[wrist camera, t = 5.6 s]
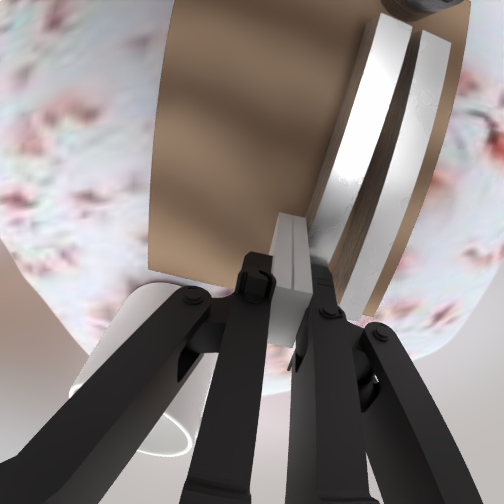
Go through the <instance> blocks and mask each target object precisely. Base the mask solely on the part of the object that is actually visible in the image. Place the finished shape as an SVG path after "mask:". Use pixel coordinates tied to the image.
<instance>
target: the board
mask: <svg viewBox="0 0 504 504" xmlns="http://www.w3.org/2000/svg"><path fill="white" fill-rule="evenodd" d="M470 6H471V1H469V0H464V1H463V2H461V3H460V4H458V5H455V6H453V7H450V8H447V9H445V10H442V11H440V12H437V13H435V14H432V15H430V16H427V17H425V18H423V19H420V20H418V21H414V22H406V21H402V20H400V19H397V18H396V17H394V16H392V15H391V14H390V13H389V12H388V11H387V10H386V9H385V8H384V6H383V5H382V3H381V0H175V1H174V6H173V11H172V15H171V20H170V26H169V31H168V37H167V42H166V48H165V54H164V60H163V67H162V74H161V81H160V88H159V96H158V104H157V112H156V122H155V131H154V142H153V154H152V167H151V183H150V202H149V232H148V269H149V270H153V271H157V272H161V273H165V274H169V275H174V276H178V277H182V278H186V279H191V280H195V281H199V282H204V283H208V284H213V285H217V286H221V287H226V288H230V289H235V287H236V282H237V277H238V273H239V272H240V270H241V268H242V264H243V260H244V257H245V255H246V254H248V253H249V252H250V251H253V252H257V253H262V254H266V255H269V251H270V247H271V243H272V239H273V235H274V231H275V227H276V223H277V219H278V215H279V212H281V213H286V214H290V215H295V216H299V217H303V218H304V217H305V214H306V211H307V208H308V206H309V203H310V200H311V197H312V194H313V191H314V188H315V185H316V182H317V179H318V177H319V174H320V171H321V168H322V165H323V162H324V159H325V156H326V153H327V150H328V147H329V144H330V141H331V137H332V134H333V131H334V128H335V125H336V122H337V119H338V116H339V113H340V109H341V106H342V103H343V100H344V97H345V94H346V90H347V87H348V84H349V81H350V77H351V74H352V71H353V67H354V64H355V61H356V57H357V54H358V51H359V47H360V44H361V40H362V37H363V33H364V30H365V26H366V24H367V23H368V22H369V21H371V20H372V19H373V18H375V17H376V16H377V15H379V14H380V13H383V14H385V15H388V16H390V17H392V18H395V19H397V20H399V21H402V22H404V23H406V24H408V25H410V26H412V31H411V34H412V33H415V32H418V31H421V30H424V31H426V32H429V33H431V34H433V35H435V36H438V37H440V38H442V39H444V40H446V41H448V42H450V43H451V48H450V54H449V59H448V64H447V69H446V74H445V79H444V83H443V88H442V92H441V96H440V100H439V104H438V108H437V112H436V116H435V120H434V124H433V127H432V131H431V135H430V138H429V142H428V145H427V148H426V152H425V155H424V158H423V162H422V165H421V168H420V171H419V174H418V177H417V180H416V183H415V186H414V189H413V192H412V195H411V198H410V200H409V203H408V206H407V209H406V212H405V214H404V217H403V220H402V222H401V225H400V227H399V230H398V233H397V235H396V238H395V240H394V243H393V245H392V248H391V250H390V253H389V255H388V257H387V260H386V262H385V264H384V267H383V269H382V271H381V274H380V276H379V278H378V281H377V283H376V285H375V287H374V289H373V292H372V294H371V296H370V298H369V300H368V302H367V305H366V307H365V309H364V311H363V313H362V315H366V316H371V317H373V316H374V314H375V312H376V310H377V308H378V306H379V304H380V302H381V300H382V298H383V296H384V294H385V292H386V290H387V288H388V285H389V283H390V281H391V279H392V277H393V275H394V272H395V270H396V268H397V266H398V263H399V261H400V259H401V257H402V254H403V252H404V250H405V247H406V245H407V242H408V240H409V238H410V235H411V233H412V230H413V228H414V225H415V223H416V220H417V217H418V215H419V212H420V209H421V207H422V204H423V201H424V199H425V196H426V193H427V190H428V187H429V184H430V182H431V179H432V176H433V173H434V170H435V166H436V163H437V160H438V157H439V154H440V150H441V147H442V144H443V140H444V137H445V133H446V130H447V126H448V122H449V119H450V115H451V111H452V107H453V103H454V99H455V94H456V90H457V86H458V81H459V76H460V71H461V66H462V61H463V55H464V50H465V44H466V37H467V30H468V23H469V15H470ZM369 164H370V163H369ZM368 167H369V166H368ZM367 171H368V168H367ZM367 171H366V174H367ZM366 174H365V176H364V179H363V182H362V184H361V187H360V189H359V192H358V195H357V197H356V200H355V202H354V205H353V207H352V210H351V212H350V215H349V217H348V220H347V222H346V225H345V227H344V230H343V232H342V234H341V237H340V239H339V242H338V244H337V246H336V249H335V251H334V253H333V256H332V258H331V260H330V263H329V265H328V267H329V271H330V272H331V274H332V276H333V273H334V271H335V268H336V265H337V262H338V260H339V257H340V254H341V251H342V248H343V245H344V243H345V240H346V237H347V234H348V231H349V228H350V225H351V222H352V219H353V216H354V213H355V210H356V206H357V203H358V200H359V197H360V194H361V191H362V187H363V184H364V181H365V177H366Z"/></svg>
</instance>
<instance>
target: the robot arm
mask: <svg viewBox="0 0 504 504" xmlns="http://www.w3.org/2000/svg"><path fill="white" fill-rule="evenodd" d="M295 340H296V349H295V351H294V354H293V356H292V358H291V361H290V363H289V366H288V369H287V371H290V369H291V367H292V380H291V408H290V430H289V449H288V450H289V452H288V467H287V483H286V497H285V504H380V503H379V501H378V500H376V499H374V498H372V497H371V496H370V493H369V484H368V472H367V461H366V453H367V456H368V459H369V462H370V464H371V467H372V470H373V473H374V476H375V479H376V481H377V484H378V487H379V490H380V493H381V496H382V499H383V502H384V504H483V502H482V500H481V497H480V495H479V493H478V490H477V488H476V486H475V483H474V481H473V479H472V477H471V475H470V472H469V470H468V468H467V466H466V464H465V461H464V459H463V457H462V455H461V453H460V451H459V449H458V447H457V445H456V443H455V441H454V439H453V437H452V435H451V433H450V431H449V429H448V427H447V425H446V423H445V421H444V419H443V417H442V415H441V413H440V411H439V409H438V408H437V406H436V404H435V402H434V400H433V398H432V396H431V395H430V393H429V391H428V389H427V387H426V385H425V384H424V382H423V380H422V378H421V377H420V375H419V373H418V371H417V369H416V368H415V366H414V364H413V362H412V361H411V359H410V357H409V355H408V354H407V352H406V350H405V349H404V347H403V345H402V343H401V342H400V340H399V338H398V337H397V335H396V333H395V332H394V331H393V330H392V329H391V328H390V327H388V326H387V325H385V324H383V323H380V322H371V323H368V324H367V325H366V326H365V328H361V327H359V326H356V325H354V324H352V323H350V322H348V321H347V319H346V315H345V312H344V311H343V310H342V309H341V308H340V307H339V306H337V300H336V294H335V289H334V283H333V278H332V274H331V272H330V271H329V270H328V268H327V267H325V266H321V265H316V264H311V263H310V254H309V244H308V234H307V225H306V218H303V217H299V216H295V215H290V214H286V213H281V212H279V215H278V219H277V223H276V227H275V231H274V235H273V239H272V243H271V247H270V251H269V255H266V254H262V253H257V252H253V251H250V252H249V253H248V254H246V255H245V257H244V260H243V264H242V268H241V270H240V272H239V273H238V277H237V282H236V287H235V292H234V293H233V294H231V295H229V296H227V297H223V298H212V297H211V295H210V293H209V292H208V291H207V290H205V289H203V288H201V287H197V286H184V287H180V288H179V289H177V290H176V291H175V292H174V293H173V294H172V295H171V296H170V297H169V298H168V299H167V300H166V301H165V302H164V303H163V304H162V305H161V306H160V307H159V308H158V309H157V310H156V311H155V312H154V313H153V314H152V315H151V316H150V317H149V318H148V319H147V320H146V321H145V322H144V323H143V324H142V325H141V326H140V327H139V328H138V329H137V330H136V331H135V332H134V333H133V334H132V335H131V336H130V337H129V338H128V339H127V340H126V341H125V342H124V343H123V344H122V345H121V346H120V347H119V348H118V349H117V350H116V351H115V352H114V353H113V354H112V355H111V356H110V357H109V358H108V359H107V360H106V361H105V362H104V363H103V364H102V365H101V366H100V367H99V368H98V369H97V370H96V372H95V373H94V374H93V375H92V376H91V377H90V378H89V379H88V380H87V381H86V382H85V383H84V384H83V385H82V386H81V387H80V388H79V389H78V390H77V391H76V392H75V393H74V394H73V395H72V397H71V398H70V399H69V400H68V401H67V402H66V403H65V404H64V405H63V406H62V407H61V408H60V409H59V410H58V411H57V413H56V414H55V415H54V416H53V417H52V418H51V419H50V420H49V421H48V422H47V423H46V424H45V425H44V426H43V427H42V428H41V430H40V431H39V432H38V433H37V434H36V435H35V436H34V437H33V438H32V439H31V440H30V441H29V443H28V444H27V445H26V446H25V447H24V448H23V449H22V450H21V451H20V452H19V453H18V455H17V456H15V457H13V458H11V459H8V460H6V461H4V462H2V463H0V504H98V503H99V502H100V500H101V499H102V498H103V496H104V495H105V493H106V492H107V491H108V489H109V488H110V487H111V485H112V484H113V483H114V481H115V480H116V479H117V477H118V476H119V474H120V473H121V471H122V470H123V469H124V467H125V466H126V465H127V463H128V462H129V461H130V459H131V458H132V457H133V455H134V454H135V452H136V451H137V450H138V448H139V447H140V445H141V444H142V443H143V441H144V440H145V439H146V437H147V436H148V434H149V433H150V432H151V430H152V429H153V427H154V426H155V425H156V423H157V422H158V420H159V419H160V418H161V416H162V415H163V413H164V412H165V410H166V409H167V408H168V406H169V405H170V403H171V402H172V401H173V399H174V398H175V396H176V395H177V393H178V392H179V391H180V389H181V388H182V386H183V385H184V384H185V382H186V381H187V379H188V378H189V376H190V375H191V374H192V372H193V371H194V369H195V368H196V366H197V365H198V363H199V362H200V361H201V359H202V358H203V356H204V353H219V354H218V358H217V362H216V366H215V369H214V373H213V377H212V381H211V385H210V389H209V393H208V397H207V401H206V405H205V408H204V412H203V417H202V420H201V424H200V428H199V432H198V436H197V440H196V444H195V448H194V452H193V456H192V460H191V464H190V468H189V472H188V475H187V479H186V481H185V483H184V487H183V490H182V494H181V498H180V502H179V504H251V494H250V480H251V472H252V465H253V457H254V449H255V442H256V434H257V426H258V418H259V410H260V401H261V393H262V384H263V375H264V366H265V357H266V348H267V343H268V344H273V345H278V346H283V347H289V348H293V345H294V342H295ZM375 375H376V376H377V379H378V381H379V382H377V380H376V379H375Z"/></svg>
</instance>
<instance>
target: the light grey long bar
mask: <svg viewBox="0 0 504 504" xmlns="http://www.w3.org/2000/svg"><path fill="white" fill-rule="evenodd" d="M411 31H412V26H410V25H408V24H406V23H404V22H402V21H399V20H397V19H395V18H392V17H390V16H388V15H385V14H383V13H380V14H379V15H377V16H376V17H375V18H373V19H372V20H371V21H369V22H368V23H367V24H366V26H365V30H364V33H363V37H362V40H361V44H360V47H359V51H358V54H357V57H356V61H355V64H354V67H353V71H352V74H351V77H350V81H349V84H348V87H347V90H346V94H345V97H344V100H343V103H342V106H341V109H340V113H339V116H338V119H337V122H336V125H335V128H334V131H333V134H332V137H331V141H330V144H329V147H328V150H327V153H326V156H325V159H324V162H323V165H322V168H321V171H320V174H319V177H318V179H317V182H316V185H315V188H314V191H313V194H312V197H311V200H310V203H309V206H308V208H307V211H306V214H305V217H304V218H306V225H307V234H308V244H309V254H310V263H311V264H316V265H321V266H325V267H327V268H328V270H329V267H328V265H329V263H330V260H331V258H332V256H333V253H334V251H335V249H336V246H337V244H338V242H339V239H340V237H341V234H342V232H343V230H344V227H345V225H346V222H347V220H348V217H349V215H350V212H351V210H352V207H353V205H354V202H355V200H356V197H357V195H358V192H359V189H360V187H361V184H362V182H363V179H364V176H365V174H366V171H367V168H368V166H369V163H370V160H371V157H372V155H373V152H374V149H375V146H376V144H377V141H378V138H379V135H380V132H381V129H382V126H383V123H384V120H385V117H386V114H387V111H388V108H389V105H390V102H391V99H392V96H393V93H394V90H395V86H396V83H397V80H398V77H399V73H400V70H401V67H402V63H403V60H404V56H405V53H406V49H407V46H408V42H409V39H410V35H411Z"/></svg>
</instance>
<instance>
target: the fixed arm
mask: <svg viewBox="0 0 504 504" xmlns="http://www.w3.org/2000/svg"><path fill="white" fill-rule="evenodd" d="M463 1H464V0H381V3H382V5H383V6H384V8H385V9H386V10H387V11H388V12H389V13H390V14H391V15H392V16H394V17H396V18H397V19H400V20H402V21H406V22H414V21H418V20H420V19H423V18H425V17H427V16H430V15H432V14H435V13H437V12H440V11H442V10H445V9H447V8H450V7H453V6H455V5H458V4H460V3H461V2H463ZM450 48H451V43H450V42H448V41H446V40H444V39H442V38H440V37H438V36H435V35H433V34H431V33H429V32H426V31H424V30H421V31H418V32H415V33H412V34H411V35H410V39H409V42H408V46H407V49H406V53H405V56H404V60H403V63H402V67H401V70H400V73H399V77H398V80H397V83H396V86H395V90H394V93H393V96H392V99H391V102H390V105H389V108H388V111H387V114H386V117H385V120H384V123H383V126H382V129H381V132H380V135H379V138H378V141H377V144H376V146H375V149H374V152H373V155H372V157H371V160H370V164H369V167H368V171H367V174H366V177H365V181H364V184H363V187H362V191H361V194H360V197H359V200H358V203H357V206H356V210H355V213H354V216H353V219H352V222H351V225H350V228H349V231H348V234H347V237H346V240H345V243H344V245H343V248H342V251H341V254H340V257H339V260H338V262H337V265H336V268H335V271H334V273H333V276H332V278H333V283H334V289H335V294H336V300H337V306H339V307H340V308H341V309H342V310H343V311H344V312H345V315H346V319H348V320H353V321H359V319H360V317H361V315H362V313H363V311H364V309H365V307H366V305H367V302H368V300H369V298H370V296H371V294H372V292H373V289H374V287H375V285H376V283H377V281H378V278H379V276H380V274H381V271H382V269H383V267H384V264H385V262H386V260H387V257H388V255H389V253H390V250H391V248H392V245H393V243H394V240H395V238H396V235H397V233H398V230H399V227H400V225H401V222H402V220H403V217H404V214H405V212H406V209H407V206H408V203H409V200H410V198H411V195H412V192H413V189H414V186H415V183H416V180H417V177H418V174H419V171H420V168H421V165H422V162H423V158H424V155H425V152H426V148H427V145H428V142H429V138H430V135H431V131H432V127H433V124H434V120H435V116H436V112H437V108H438V104H439V100H440V96H441V92H442V88H443V83H444V79H445V74H446V69H447V64H448V59H449V54H450Z"/></svg>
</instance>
